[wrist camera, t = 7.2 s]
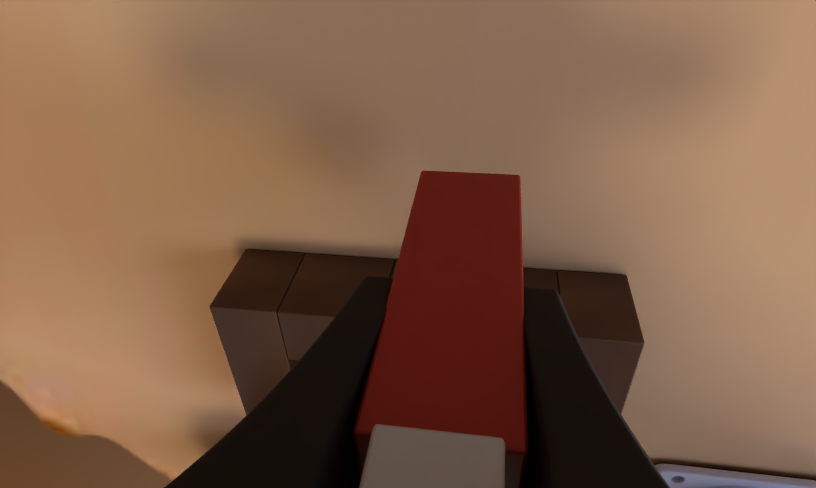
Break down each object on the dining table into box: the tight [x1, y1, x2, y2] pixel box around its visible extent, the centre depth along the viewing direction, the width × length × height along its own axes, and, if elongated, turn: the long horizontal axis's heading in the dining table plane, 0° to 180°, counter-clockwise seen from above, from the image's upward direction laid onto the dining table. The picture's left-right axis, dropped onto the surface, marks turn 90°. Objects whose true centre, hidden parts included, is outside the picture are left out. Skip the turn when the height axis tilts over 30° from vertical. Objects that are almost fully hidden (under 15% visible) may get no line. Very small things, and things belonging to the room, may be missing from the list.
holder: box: [210, 249, 644, 415], centre depth 19 cm, size 13×8×3 cm, turn 92°
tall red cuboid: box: [353, 171, 529, 488], centre depth 10 cm, size 2×4×8 cm, turn 2°
